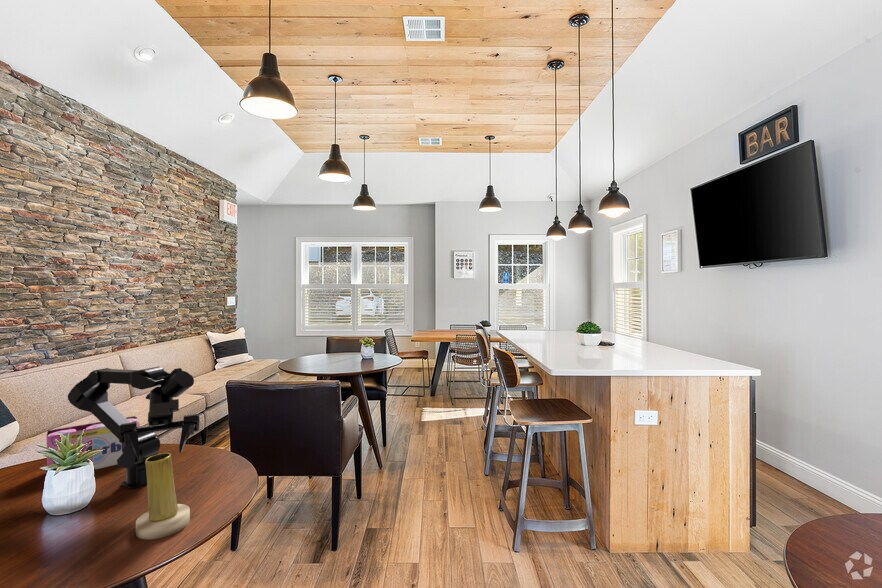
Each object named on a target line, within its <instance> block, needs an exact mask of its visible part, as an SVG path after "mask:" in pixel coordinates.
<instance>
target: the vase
mask: <svg viewBox="0 0 882 588" xmlns="http://www.w3.org/2000/svg"><path fill="white" fill-rule="evenodd" d="M145 465H146V475H147V484H146V486H147V487H146V488H147V489H146V490H147V506H148V511H149V518H148V519H149V520H150V521H160V520H164V519H166V518H169V517H171V516H173V515H174V514H175V513H176V512H177V511H178V506H177V504H178V501H177V500H178V499H177V495H176V489H175V479H174V469H173V461H172V454H171V453H169V452H162V453H158V454H156V455H153V456H151V457H149V458H147V459H146V460H145Z"/></svg>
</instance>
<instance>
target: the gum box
mask: <svg viewBox="0 0 882 588" xmlns="http://www.w3.org/2000/svg"><path fill="white" fill-rule="evenodd" d="M125 417H126V418H127V419H128V420H129V421H130V422H131V423H133V422H137V427H141V423H140V420H139V419H138V418H137V417H136V415H134V416H125ZM83 429H85V430H84V433H83V435H82V444H86V443H89V442H91V443H90V444H88V445H87V446H85V447H84V448H83V449H82V450H81V451H82V452H85V451H88V450H92V449H105V450H103V451H102V452H100V453H97V454H95V455H94V456H93V457H91V458H90V460H91V461H92V462H93V464H94V467H95V470H98V469H104V468H107V467H111V466H116V465H117V466H118V464H117V459H118V458H119V457H120V456H121V455H122V454H123V452H122V443H120V442H119V439H118V438H117V437H116V436H115V435H114V434H113V433H112V432H111V431H110V430H109V429H108V428H107V427H106V426H105V425H104V424H103V423H102V422H100V421H96V422H93V423H86V424H80V425H75V426H67V427H61V428H55V429H48V430H47V431H46V449H47V448H49V447H50V448H53V449H55V450H56V451H57V450H58V446H57V444H56V441H55V439H57V440H58V441H59V442H61V437H60V435H59V434H60V433H61V434H63V435H64V436H67V435H68V433H70V442H71V444H74V443H75V442H76V440H77V438H78V437H79V436H80V435H81V433H82V431H83ZM53 463H54V462H53V461H52V460H51V459H50V458H48V457H47V456H46V467H47V466H49V465H51V464H53Z"/></svg>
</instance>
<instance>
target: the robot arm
mask: <svg viewBox="0 0 882 588" xmlns="http://www.w3.org/2000/svg"><path fill="white" fill-rule="evenodd" d="M111 384H118V385H121V384H122V385H130V386H131V388H134V389H137V390H142V391H144V390H147V389H151V388H152V390H150V391H149V393H147V394H146V396H145V399H146V400H149V405H148V408H149V409H148V413H147V423H148V425H140V427H137V422H133V423H131V422H130V421H129V420H128V419H127V418H126V417H127V416H125V415H124V414H122V412H121V411H120V410H118V409H117V408H116V406H114V405H113V404H112V403H111V402H110V401H109V393H108V390H109V389H110V387H111ZM194 384H195V379H194V377H193V375H191V374H190V373H189V372H188V371H185V370H183V369H182V368H181V367H177V368H174V369H172V371H171V372H168V371H166V370H164V367H162V366H153V367H149V368H143V369H123V368H122V369H119V368H109V367H105V368H100V369H94V370H92V371H91V372H89V374H88V375H87V376H86V377H85V378H83V379H81V380H80V381H79V382H77V383H76V384H75V385H74V386H73V387H72V388H71V389H70V390H69V393H68V394H67V400H68V402H69V403H70V404H71V405H72V406H73V407H75V408H76V409H78V410H80V411H84V412H88V413H91V414H92V415H93V416H94V417H95V418H97V420H98V422H102V423H103V424H104V425H105V426H106V427H107V428H108V429H109V430H110V431H111V432H112V433H113V434H114V435H115V436H116V437H117V438H118V439H119V442H120V443H122V452H123V454H122V455H121V456H120V457H119V458H118V459H117V467H118V468H124V469H126V471H125V472H126V473H125V474H126V475H125V476H126V477H125V479H126V480H125V481H122V482H120V486H122V487H126V488H129V489H130V490H132V489H136V488H138V487H141V486H144V485H147V475H146V465H145V460H146V459H147V458H149V457H151V456H153V455H156V454H159V450H160V447H161V440H160V438H159V437H158V435H159V434H157V433H156V432H162V431H169V430H170V431H171V430H175V429H176V430H178V429H181V434H180V440H179V450H178V452H179V454H182V453H183V451H184V447H185V444H186V442H187V441H188V439H189V437H190V436H191V435H194V434H195V433H197V432H199V430H200V423H201V422H200V415H199V414H198V413H196V414H195V413H194V414H187V415H183V420H179V421H178V420H177V421H174V413H175V412H179V405H180V401H179V400H180V399H179V398H178V397H180V396H181V395H182V394H183V393H185V392H186V391H188V390H189V389H190V388H191V387H193V386H194ZM174 398H175V399H174Z"/></svg>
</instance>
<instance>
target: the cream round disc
mask: <svg viewBox="0 0 882 588" xmlns="http://www.w3.org/2000/svg"><path fill="white" fill-rule="evenodd" d="M177 506H178V511H177V512H176V513H175V514H174V515H173V516H171V517H169V518H166V519H164V520H160V521H150V520H149V519H148V518H149V510H147V511H146V512H144V513H142V514H141V515H139V516H138V517H137V519H136V520H135V536H136V537H137V538H138V539H141V540H156V539H162V538H166V537H168V536H171V535H173V534H176V533H178V532H179V531H181V530H184V528H186V527H187V526H188V525H189V523H190V521H191V520H190V519H191V518H190V517H191V515H190V514H191V509H190V506H188V505H187V504H183V503H177Z"/></svg>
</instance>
